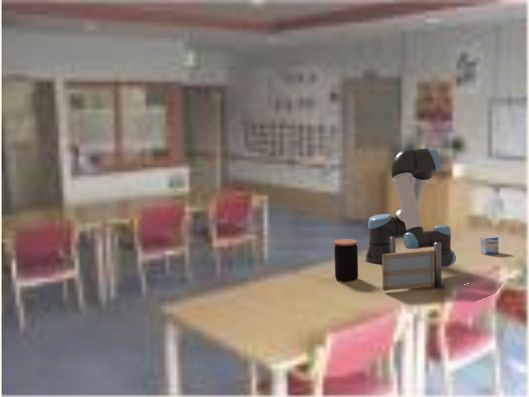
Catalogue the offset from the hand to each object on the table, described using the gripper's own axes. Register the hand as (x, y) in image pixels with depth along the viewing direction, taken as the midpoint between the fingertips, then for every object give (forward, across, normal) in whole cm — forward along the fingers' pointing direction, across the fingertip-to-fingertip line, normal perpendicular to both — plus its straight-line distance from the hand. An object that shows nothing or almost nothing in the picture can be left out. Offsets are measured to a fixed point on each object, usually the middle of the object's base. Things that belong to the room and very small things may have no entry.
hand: (390, 271), depth 305 cm
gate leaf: (-4, -7, -7) cm, 11 cm away
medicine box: (-86, +15, -8) cm, 88 cm away
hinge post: (-16, -13, -8) cm, 22 cm away
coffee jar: (+3, +26, -8) cm, 27 cm away
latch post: (-15, +14, -8) cm, 22 cm away
